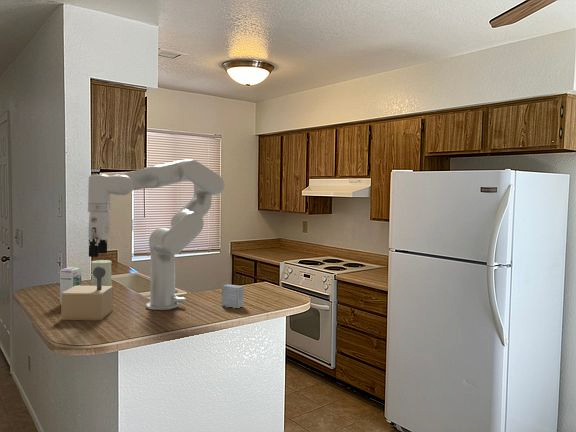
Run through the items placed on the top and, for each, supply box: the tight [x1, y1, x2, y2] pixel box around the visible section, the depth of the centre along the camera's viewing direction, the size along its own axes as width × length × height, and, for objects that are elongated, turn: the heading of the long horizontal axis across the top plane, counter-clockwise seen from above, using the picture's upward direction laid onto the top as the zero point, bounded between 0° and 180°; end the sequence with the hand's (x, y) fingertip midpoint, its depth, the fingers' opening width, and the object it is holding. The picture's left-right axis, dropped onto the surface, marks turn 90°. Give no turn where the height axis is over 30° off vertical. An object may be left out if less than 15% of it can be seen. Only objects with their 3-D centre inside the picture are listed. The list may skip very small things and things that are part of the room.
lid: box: [61, 266, 114, 295], centre depth 175 cm, size 14×13×9 cm
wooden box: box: [60, 287, 114, 321], centre depth 176 cm, size 14×13×9 cm
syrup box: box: [59, 266, 82, 304], centre depth 191 cm, size 6×6×14 cm
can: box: [90, 259, 113, 286], centre depth 228 cm, size 9×9×12 cm
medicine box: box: [221, 283, 245, 309], centre depth 194 cm, size 8×4×9 cm, turn 65°
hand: (98, 254), depth 175 cm, fingers open, 9 cm apart
